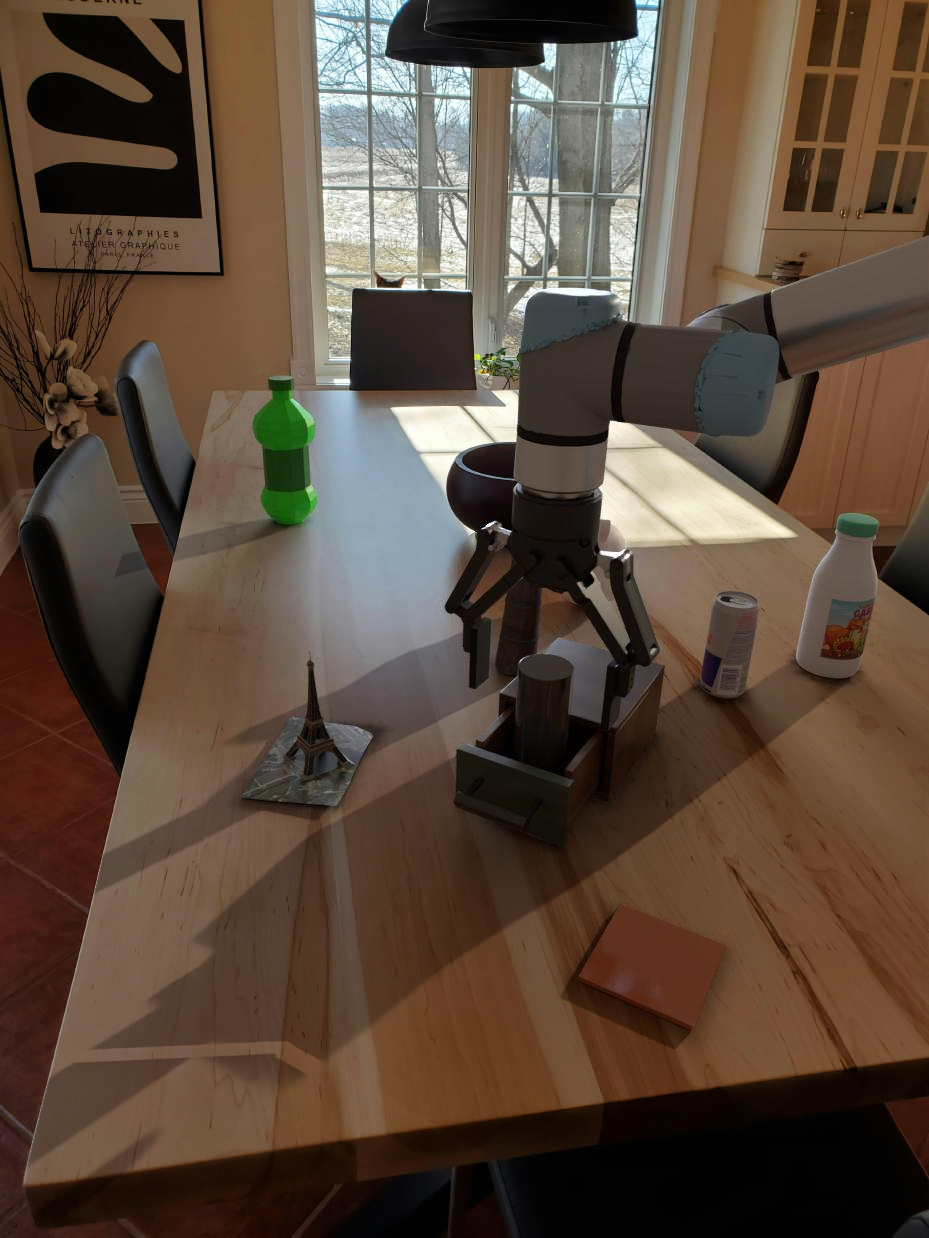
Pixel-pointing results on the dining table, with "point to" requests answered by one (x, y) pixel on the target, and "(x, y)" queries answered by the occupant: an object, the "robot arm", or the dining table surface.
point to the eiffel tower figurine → (309, 758)
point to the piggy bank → (608, 542)
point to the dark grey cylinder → (543, 712)
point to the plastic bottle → (285, 454)
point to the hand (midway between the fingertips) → (541, 702)
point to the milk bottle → (840, 601)
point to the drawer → (528, 781)
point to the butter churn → (519, 626)
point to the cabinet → (588, 703)
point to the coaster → (653, 965)
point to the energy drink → (729, 644)
